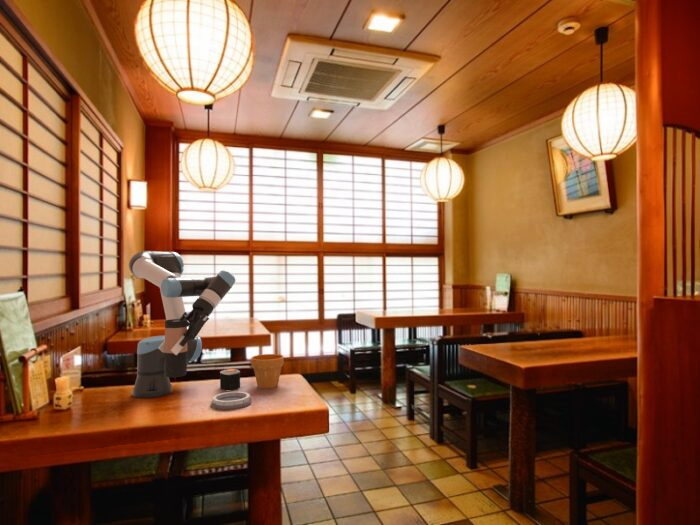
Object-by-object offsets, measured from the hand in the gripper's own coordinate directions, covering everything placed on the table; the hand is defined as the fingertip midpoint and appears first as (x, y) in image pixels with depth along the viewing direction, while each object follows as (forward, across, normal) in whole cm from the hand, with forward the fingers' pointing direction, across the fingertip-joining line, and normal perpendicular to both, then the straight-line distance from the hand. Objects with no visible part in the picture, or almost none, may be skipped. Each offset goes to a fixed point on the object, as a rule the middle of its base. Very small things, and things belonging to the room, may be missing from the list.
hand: (167, 351), depth 154 cm
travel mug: (+4, 0, -9) cm, 10 cm away
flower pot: (-17, -1, -49) cm, 52 cm away
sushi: (-9, +11, -41) cm, 44 cm away
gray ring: (+1, -9, -31) cm, 32 cm away
